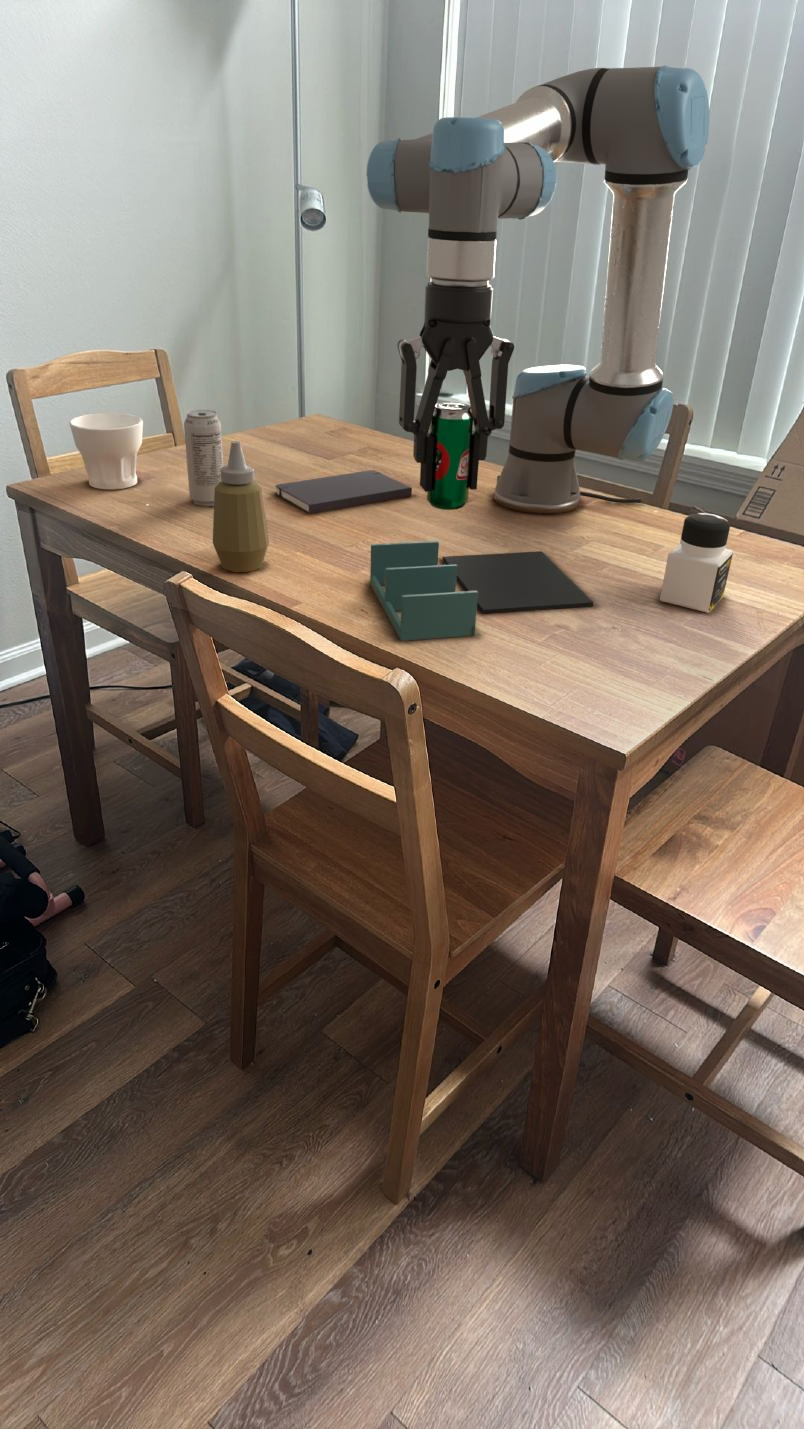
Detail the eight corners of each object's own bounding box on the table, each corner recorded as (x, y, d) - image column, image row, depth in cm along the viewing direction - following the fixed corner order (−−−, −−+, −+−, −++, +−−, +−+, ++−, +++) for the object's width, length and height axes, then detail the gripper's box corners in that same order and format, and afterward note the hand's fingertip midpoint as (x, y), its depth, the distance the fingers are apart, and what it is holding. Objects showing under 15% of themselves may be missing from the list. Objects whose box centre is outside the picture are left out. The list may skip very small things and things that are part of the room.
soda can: (464, 512, 116) (470, 412, 110) (423, 509, 116) (427, 409, 110) (470, 500, 120) (476, 402, 114) (430, 496, 121) (435, 399, 115)
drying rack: (435, 580, 137) (438, 540, 134) (474, 635, 121) (478, 592, 118) (370, 584, 135) (370, 543, 132) (401, 641, 119) (402, 597, 116)
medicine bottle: (709, 614, 130) (727, 529, 124) (658, 601, 133) (674, 518, 127) (723, 597, 135) (741, 515, 129) (674, 585, 138) (690, 505, 132)
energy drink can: (222, 495, 168) (217, 408, 160) (228, 505, 163) (222, 416, 155) (187, 497, 166) (180, 409, 158) (192, 508, 161) (185, 418, 153)
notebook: (309, 513, 160) (411, 495, 171) (308, 504, 160) (412, 487, 170) (273, 493, 169) (373, 477, 180) (273, 484, 169) (373, 469, 179)
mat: (541, 554, 147) (541, 551, 147) (593, 606, 131) (593, 602, 130) (442, 560, 144) (442, 556, 144) (482, 613, 127) (483, 609, 127)
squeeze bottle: (224, 579, 134) (216, 452, 125) (206, 560, 140) (198, 437, 131) (278, 571, 138) (274, 447, 129) (258, 553, 144) (253, 433, 135)
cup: (163, 481, 173) (157, 419, 168) (111, 497, 164) (103, 433, 159) (115, 469, 179) (108, 409, 173) (62, 484, 170) (53, 421, 164)
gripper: (525, 277, 110) (507, 475, 122) (372, 277, 106) (370, 481, 118) (548, 286, 104) (527, 493, 116) (387, 285, 100) (383, 500, 112)
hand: (448, 486), depth 117 cm, fingers closed on soda can, 5 cm apart
